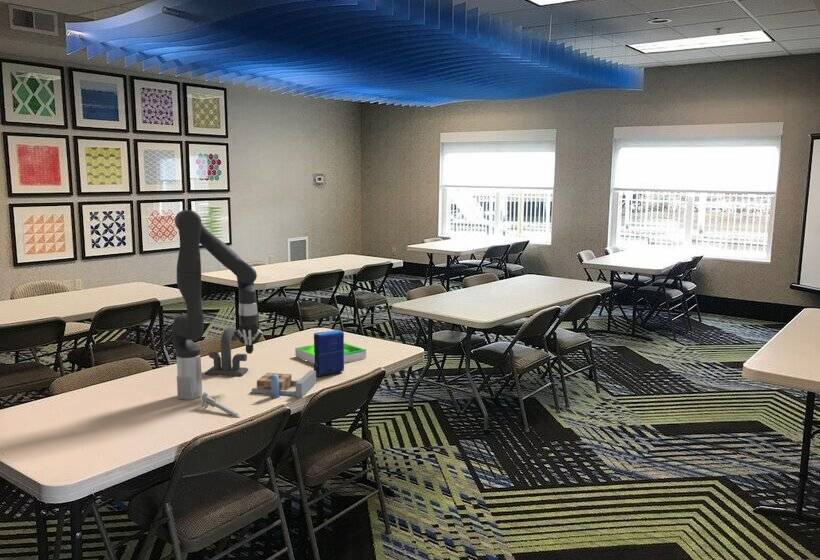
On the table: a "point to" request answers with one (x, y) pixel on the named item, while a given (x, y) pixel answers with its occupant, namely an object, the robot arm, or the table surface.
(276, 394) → the dowel
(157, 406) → the table surface
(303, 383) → the backstop
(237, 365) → the faucet
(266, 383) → the socket block
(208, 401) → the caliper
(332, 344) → the book
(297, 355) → the tray
